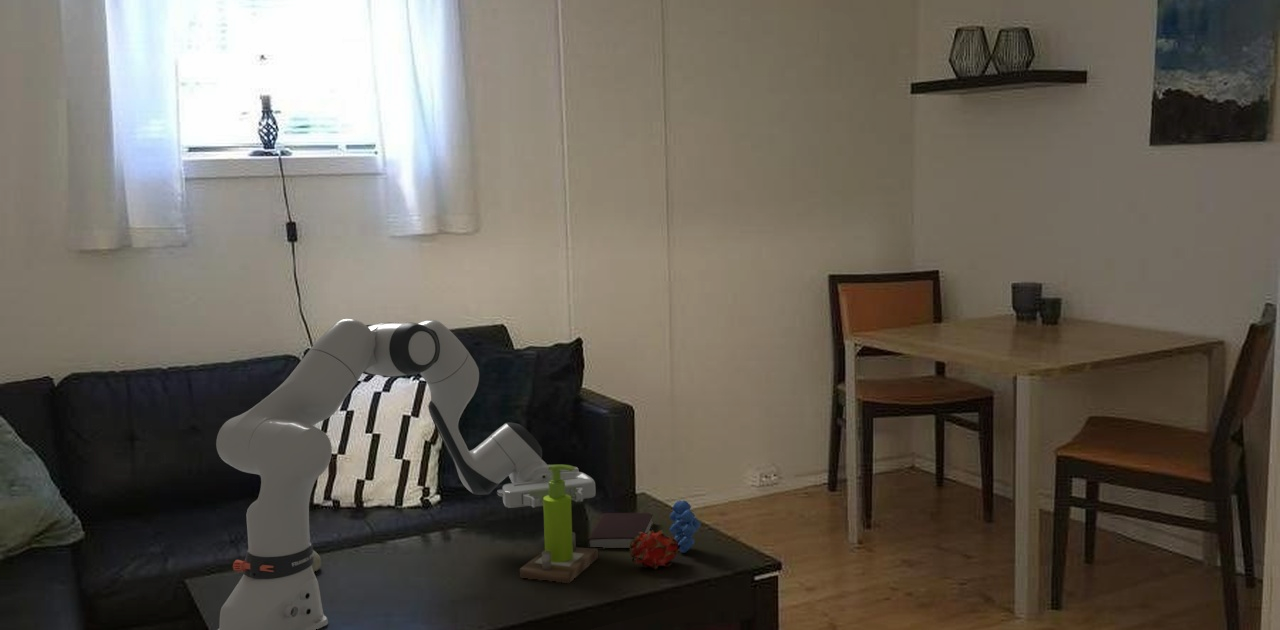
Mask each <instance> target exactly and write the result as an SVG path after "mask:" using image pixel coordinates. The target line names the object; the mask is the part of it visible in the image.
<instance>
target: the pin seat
mask: <svg viewBox="0 0 1280 630" xmlns="http://www.w3.org/2000/svg"><path fill="white" fill-rule="evenodd" d="M576 543H577V542H576V532H573V531H572V545H573V558H572V559H570V560H568V561H564V562H551V552H550V551H545V549H544V550H542V551H541V552H540V553H538V555H536V556H535V557H534V558H533V557H532V559H531V560H530V561H528V562H526V563H525V564H524V565H523V566H521V567H520V568H519V578H520V577H521V578H520V579H523V578H528V579H527V580H532V579H538V580H537V581H542V580H549V581H548V582H552V581H556V582H555V583H561V582H562V583H563V584H570V583H571V582H573V581H574V578H575V579H576V578H577V577H578V576H579V575H581V574H582V573H583V572H584V571H585V570H586V569H588V568H589V566H591V565H592V564H593V563H594V562H595V561H597V560H598V559H599V556H598V555H599V552H598V551H599V548H589V547H579V546H578V547H577V546H576ZM590 564H591V565H590Z"/></svg>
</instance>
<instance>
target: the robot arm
mask: <svg viewBox="0 0 1280 630" xmlns="http://www.w3.org/2000/svg"><path fill="white" fill-rule="evenodd" d="M296 365H297V366H296V367H295V368H294V370H293V371H291V373H290V375H289V376H287V378H285V380H284V381H283V382H282V383H281V384H279V386H278V387H277V388H276V389H274V390H273V391H272V392H271V393H270V394H269V395H267V396H266V397H265V398H263V399H261V401H260V402H258V403H257V404H255V405H254V406H252V408H250V409H248V410H247V411H245V412H243V413H241V414H239V415H236V416H233V417H231V418H229V419H227V420H226V421H225V422H224V423H223V424H222V426H221V427H220V428H219V431H218V433H217V436H216V440H215V441H216V442H215V445H216V446H215V447H216V451H217V454H218V456H219V457H220V459H221V460H222V461H223V462H224V463H226V464H227V465H229V466H231V467H232V468H234V469H236V470H238V471H240V472H243V473H247V474H253V475H258V476H259V477H260V482H261V483H260V490H259V494H258V497H257V499H255V500H254V501H253V502H252V503H251V504H250V505H249V507H248V508H247V511H246V518H245V519H246V527H247V528H246V530H247V546H248V549H247V551H246V554H245V557H244V560H241V559H235V561H233V564H232V569H233V571H235V572H243V575H242V577H241V578H240V580H239V581H238V583H237V584H236V586H235V587H234V589H233V590H232V592H231V593H230V595H229V596H228V598H227V599H226V601H225V602H224V604H223V605H222V606H221V609H220V613H219V628H218V629H217V630H316V629H317V630H319V629H321V628H323V627H326V626H327V625H328V624H329V620H328V617H327V616H326V615H325V614H324V610H323V604H322V597H321V592H320V586H319V581H318V578H317V577H316V574H315V572H314V571H313V568H312V564H313V562H314V558H313V555H314V551H315V550H314V549H313V543H312V542H311V538H310V536H311V535H310V511H309V510H310V500H311V495H312V492H313V487H314V485H315V484H316V481H317V479H318V478H319V477H320V476H322V474H323V473H324V472H325V471H326V469H327V468H328V466H329V465H330V462H331V460H332V451H333V447H332V442H331V440H330V438H329V436H328V434H326V432H325V431H323V430H321V429H320V428H318V427H316V426H315V425H316V424H319V423H320V422H323V421H325V420H327V419H329V418H330V417H332V416H333V415H334V414H335V413H336V412H337V410H338V409H339V407H340V406H341V405H342V404H343V402H344V401H345V399H346V398H347V397H348V395H349V394H350V393H351V391H352V390H353V388H354V387H355V385H356V384H357V383H358V381H359V379H360V378H361V377H362V375H367V376H384V377H400V376H401V377H402V376H414V375H418V374H420V377H421V378H423V380H424V381H425V382H426V384H427V385H428V387H429V391H430V392H429V393H430V401H429V403H428V405H427V407H428V412H429V416H430V417H431V420H432V422H433V425H434V427H435V429H436V430H437V432H438V433H439V436H440V439H441V440H442V442H443V444H444V446H445V447H446V450H447V451H448V454H449V456H450V458H451V460H452V462H453V465H454V467H455V469H456V472H457V475H458V477H459V480H460V481H461V483H462V485H463V486H464V487H465V488H466V490H468V491H469V492H470V493H472V494H473V495H478V496H479V495H490V494H491V493H492V492H493V491H494V490H495V489H496V488H497V487H498V486H499V485H500V483H502V482H503V481H504V480H505V479H506V478H507V477H509V479H510V483H505V484H503V485H502V488H500V489H497V490H496V494H497V495H498V496H499V497H502V503H503V505H504V507H505V508H508V509H514V508H522V507H532V508H539V507H543V498H544V497H545V496H547V495H549V481H550V480H551V479H553V478H552V470H549V467H550V466H551V465H552V464H547V462H545V461H544V460H543V459H542V457H543V449H542V447H541V445H540V444H539V442H538V440H537V439H536V438H535V437H534V435H532V433H530V432H529V431H528V429H526V428H525V427H523V426H522V425H521V424H519V423H516V422H505V423H504V424H503V425H501V426H500V427H499V428H497V429H496V430H495V431H493V432H492V433H491V434H490V435H489V436H488V437H487V438H486V439H484V440H483V441H482V442H481V443H479V444H478V445H477V446H476V447H475V448H473V449H471V450H469V449H468V446H467V444H466V442H465V440H464V438H463V437H462V434H461V432H460V429H459V421H460V418H461V416H462V414H463V413H464V410H465V409H466V407H467V405H468V404H469V403H470V402H471V400H472V398H473V397H474V395H475V393H476V391H477V388H478V386H479V381H480V380H479V379H480V371H479V367H478V365H477V363H476V361H475V359H474V358H473V356H472V355H471V353H470V352H469V350H468V349H467V348H466V347H465V345H464V344H463V343H462V341H460V339H458V337H457V336H456V335H455V334H454V333H453V332H452V331H451V330H450V329H449V328H448V327H446V326H445V324H442V322H440V321H439V320H437V319H427V320H426V319H425V320H423V321H420V322H419V323H417V322H413V321H412V322H391V321H387V322H382V323H376V324H365V323H363V322H362V321H360V320H357V319H353V318H344V319H340V320H338V321H337V322H335V323H334V324H333V325H332V326H331V327H329V328H328V329H327V330H326V331H325V332H324V333H323V334H322V335H321V336H320V337H319V338H318V339H317V340H316V342H315V343H314V344H313V345H312V346H311V348H310V349H309V350H308V351H307V352H306V354H305V355H304V357H303V358H302V359H301V361H299V363H298V364H296ZM575 467H576V468H575V469H574V470H573V471H569V470H560V476H561V479H562V480H564V481H565V494H567V495H570V496H571V501H574V502H576V503H577V502H578V503H581V502H583V501H584V499H591V498H594V497H595V496H596V481H595V480H594V479H593V478H592V477H591V476H590V475H588V474H586V473H584V472H582V471H579V468H578V467H577V466H575ZM313 550H314V551H313Z"/></svg>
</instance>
